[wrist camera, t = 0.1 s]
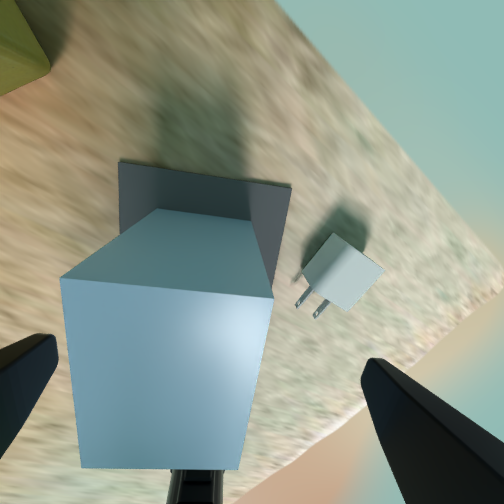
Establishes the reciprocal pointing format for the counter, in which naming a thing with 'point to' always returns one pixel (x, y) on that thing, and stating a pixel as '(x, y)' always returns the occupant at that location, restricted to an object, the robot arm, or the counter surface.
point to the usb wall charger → (339, 275)
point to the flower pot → (18, 50)
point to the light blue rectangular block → (167, 342)
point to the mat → (205, 202)
